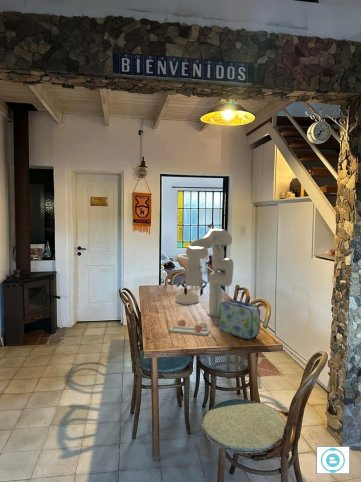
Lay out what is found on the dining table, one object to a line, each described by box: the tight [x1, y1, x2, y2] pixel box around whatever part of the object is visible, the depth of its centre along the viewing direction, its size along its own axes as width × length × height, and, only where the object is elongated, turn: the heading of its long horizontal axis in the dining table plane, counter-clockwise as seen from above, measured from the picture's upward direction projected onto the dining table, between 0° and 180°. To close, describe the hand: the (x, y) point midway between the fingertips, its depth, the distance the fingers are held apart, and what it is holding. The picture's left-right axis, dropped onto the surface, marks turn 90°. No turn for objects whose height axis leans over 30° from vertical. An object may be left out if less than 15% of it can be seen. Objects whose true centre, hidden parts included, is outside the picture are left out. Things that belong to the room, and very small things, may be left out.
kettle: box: [174, 281, 200, 305], centre depth 285 cm, size 20×21×18 cm
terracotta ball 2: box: [194, 323, 202, 332], centre depth 207 cm, size 5×5×5 cm
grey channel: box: [168, 325, 211, 337], centre depth 208 cm, size 8×24×2 cm, turn 76°
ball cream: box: [199, 320, 208, 329], centre depth 214 cm, size 5×5×5 cm
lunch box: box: [218, 298, 261, 340], centre depth 205 cm, size 26×11×21 cm, turn 45°
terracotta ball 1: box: [177, 319, 187, 327], centre depth 218 cm, size 5×5×5 cm
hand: (193, 294), depth 209 cm, fingers open, 9 cm apart
